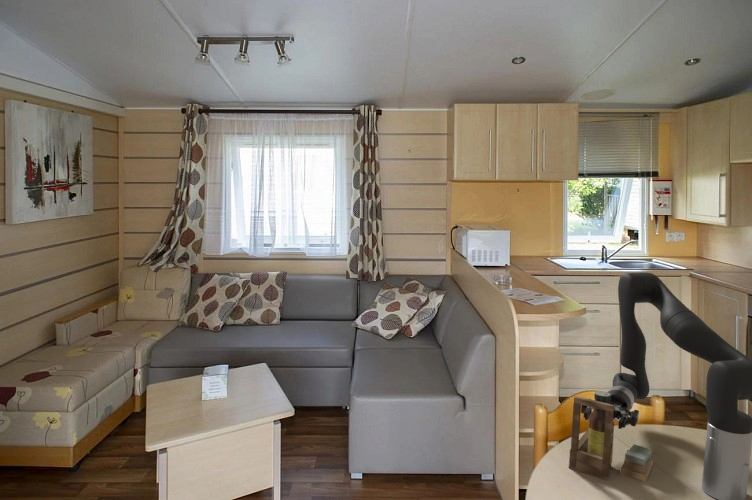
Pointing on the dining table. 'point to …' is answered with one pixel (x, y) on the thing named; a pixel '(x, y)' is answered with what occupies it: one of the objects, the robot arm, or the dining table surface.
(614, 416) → the robot arm
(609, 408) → the walnut rack
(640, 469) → the offcut stack
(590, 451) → the sauce bottle
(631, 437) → the dining table surface
